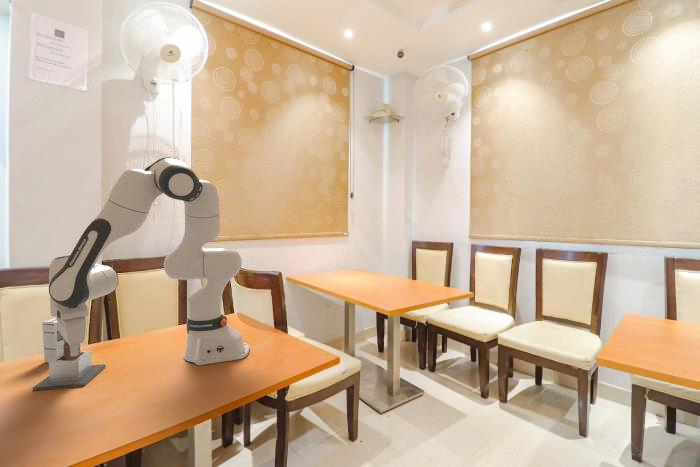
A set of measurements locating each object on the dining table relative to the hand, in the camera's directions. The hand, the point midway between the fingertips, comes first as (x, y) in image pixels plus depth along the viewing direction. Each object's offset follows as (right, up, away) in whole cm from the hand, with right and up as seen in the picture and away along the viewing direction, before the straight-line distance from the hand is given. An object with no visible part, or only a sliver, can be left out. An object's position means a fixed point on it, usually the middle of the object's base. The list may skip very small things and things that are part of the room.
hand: (71, 351), depth 106 cm
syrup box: (-15, -8, +14) cm, 22 cm away
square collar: (0, -9, 0) cm, 9 cm away
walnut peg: (0, -8, 0) cm, 8 cm away
